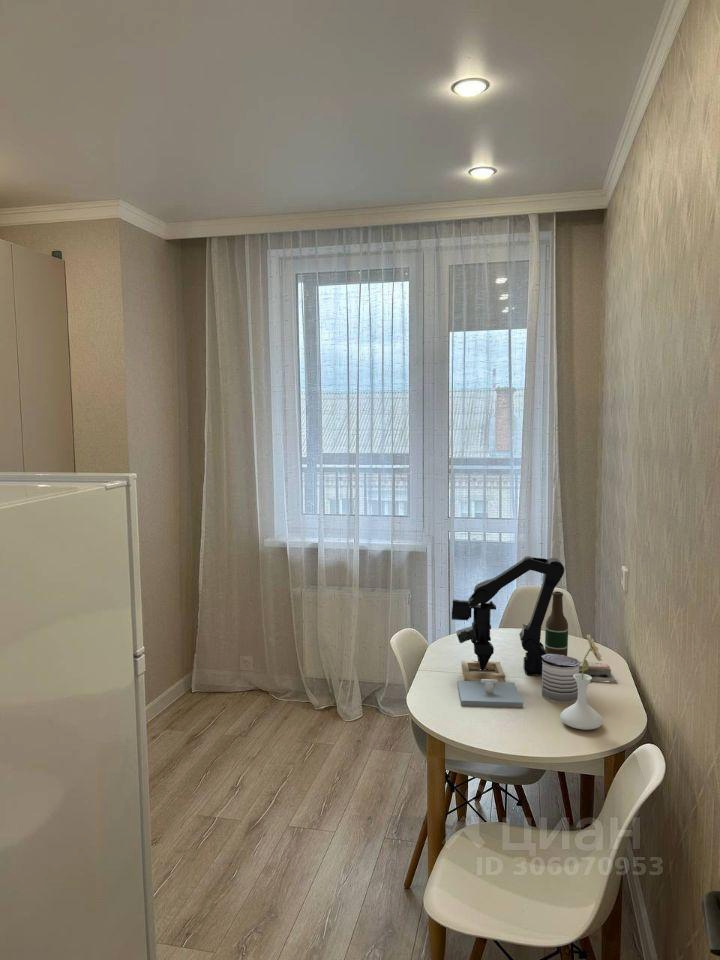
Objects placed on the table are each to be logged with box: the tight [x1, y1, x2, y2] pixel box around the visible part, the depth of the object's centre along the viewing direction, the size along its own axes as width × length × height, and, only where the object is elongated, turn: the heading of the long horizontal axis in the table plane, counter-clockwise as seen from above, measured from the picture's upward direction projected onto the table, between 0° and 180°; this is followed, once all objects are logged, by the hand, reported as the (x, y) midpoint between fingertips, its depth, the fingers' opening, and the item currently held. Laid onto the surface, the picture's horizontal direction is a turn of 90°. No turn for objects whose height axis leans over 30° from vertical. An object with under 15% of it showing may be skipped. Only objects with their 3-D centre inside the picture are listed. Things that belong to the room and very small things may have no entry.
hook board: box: [456, 679, 523, 708], centre depth 214 cm, size 18×16×6 cm
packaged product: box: [579, 661, 617, 683], centre depth 232 cm, size 18×5×10 cm
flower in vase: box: [559, 634, 604, 731], centre depth 194 cm, size 13×11×25 cm
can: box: [541, 654, 581, 704], centre depth 214 cm, size 11×11×12 cm
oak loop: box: [461, 660, 506, 682], centre depth 232 cm, size 13×13×2 cm
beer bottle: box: [544, 590, 569, 656], centre depth 248 cm, size 8×8×24 cm
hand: (480, 665), depth 238 cm, fingers open, 8 cm apart
